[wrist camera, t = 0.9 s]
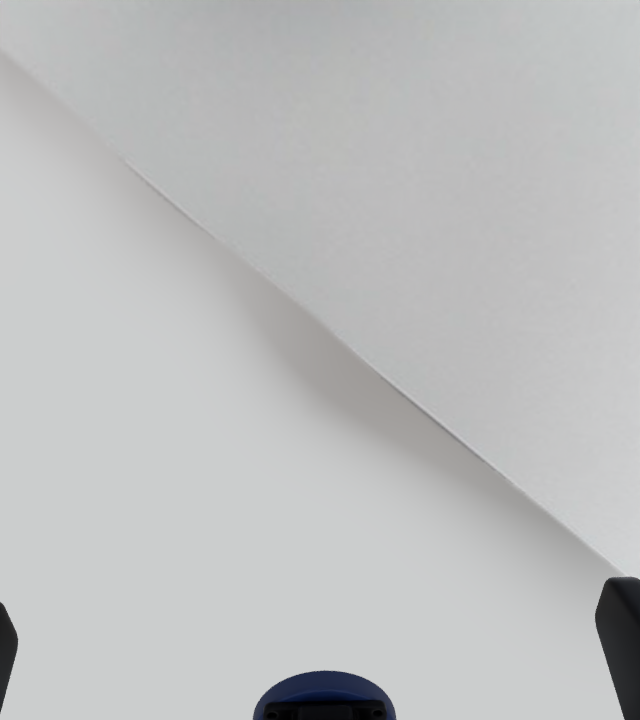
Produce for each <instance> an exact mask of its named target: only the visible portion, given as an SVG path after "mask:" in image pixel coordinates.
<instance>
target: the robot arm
mask: <svg viewBox="0 0 640 720" xmlns="http://www.w3.org/2000/svg"><path fill="white" fill-rule="evenodd" d="M595 622H596V627H597V631H598V634H599V638H600V641H601V644H602V648H603V651H604V654H605V657H606V660H607V664H608V667H609V670H610V674H611V677H612V680H613V683H614V687H615V690H616V693H617V697H618V700H619V703H620V706H621V710H622V713H623V716H624V719H625V720H640V580H639V579H637V578H635V577H612V578H609V579H608V580H607V581H606V582H605V584H604V587H603V590H602V593H601V596H600V599H599V603H598V606H597V609H596V613H595ZM17 647H18V638H17V633H16V630H15V628H14V626H13V624H12V622H11V620H10V617H9V616H8V613H7V611H6V609H5V607H4V605H3V604H2V603H1V602H0V712H1V708H2V705H3V701H4V697H5V694H6V689H7V686H8V682H9V679H10V675H11V671H12V667H13V664H14V660H15V656H16V653H17ZM263 720H387V709H386V704H385V703H384V702H383V701H381V700H348V701H299V702H270V703H267V704H265V706H264V708H263Z"/></svg>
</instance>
